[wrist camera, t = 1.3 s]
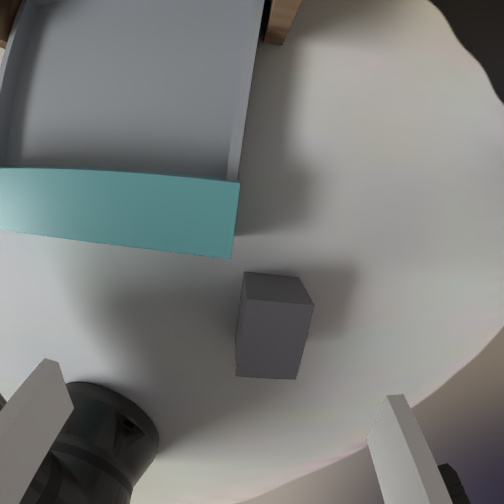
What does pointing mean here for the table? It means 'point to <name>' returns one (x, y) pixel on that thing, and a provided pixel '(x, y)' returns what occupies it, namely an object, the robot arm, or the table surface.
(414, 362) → the table surface
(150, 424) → the robot arm
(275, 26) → the wooden drawer cabinet
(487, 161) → the table surface
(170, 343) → the table surface
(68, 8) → the drawer
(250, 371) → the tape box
